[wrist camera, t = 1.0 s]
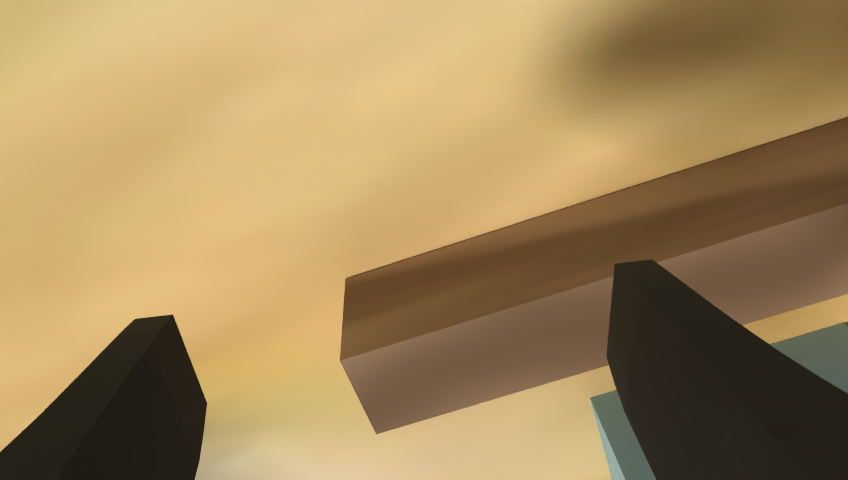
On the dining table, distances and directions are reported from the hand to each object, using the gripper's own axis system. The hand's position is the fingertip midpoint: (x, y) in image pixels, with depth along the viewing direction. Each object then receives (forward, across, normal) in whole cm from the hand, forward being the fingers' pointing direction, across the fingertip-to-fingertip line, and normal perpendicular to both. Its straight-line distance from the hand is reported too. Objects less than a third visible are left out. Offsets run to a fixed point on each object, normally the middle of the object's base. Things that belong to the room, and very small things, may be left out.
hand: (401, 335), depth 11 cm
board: (+10, -10, +5) cm, 15 cm away
